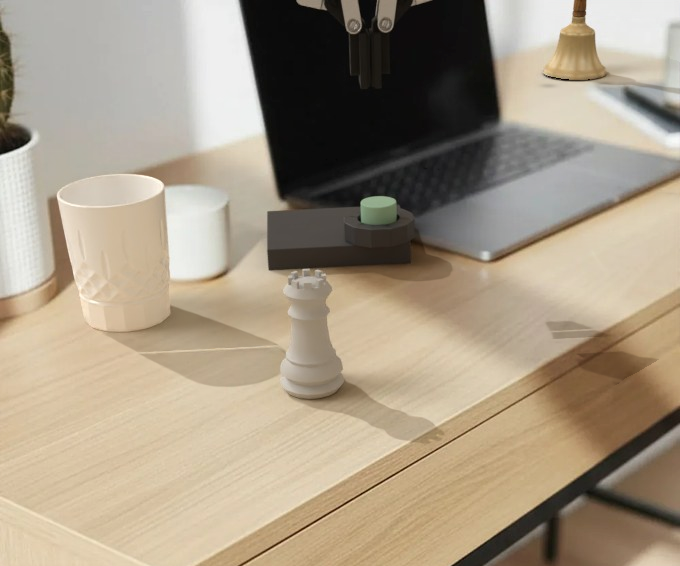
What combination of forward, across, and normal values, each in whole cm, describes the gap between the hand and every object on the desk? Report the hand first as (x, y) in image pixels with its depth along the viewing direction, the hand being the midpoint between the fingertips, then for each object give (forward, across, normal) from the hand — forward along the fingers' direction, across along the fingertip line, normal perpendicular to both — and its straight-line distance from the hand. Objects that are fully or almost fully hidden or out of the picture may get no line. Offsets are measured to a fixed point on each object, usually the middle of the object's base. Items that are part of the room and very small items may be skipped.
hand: (370, 84), depth 92 cm
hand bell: (+15, +30, +66) cm, 75 cm away
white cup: (+15, -20, -7) cm, 26 cm away
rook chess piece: (+15, -6, -21) cm, 27 cm away
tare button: (+12, +1, +3) cm, 12 cm away
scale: (+15, -3, +6) cm, 16 cm away
